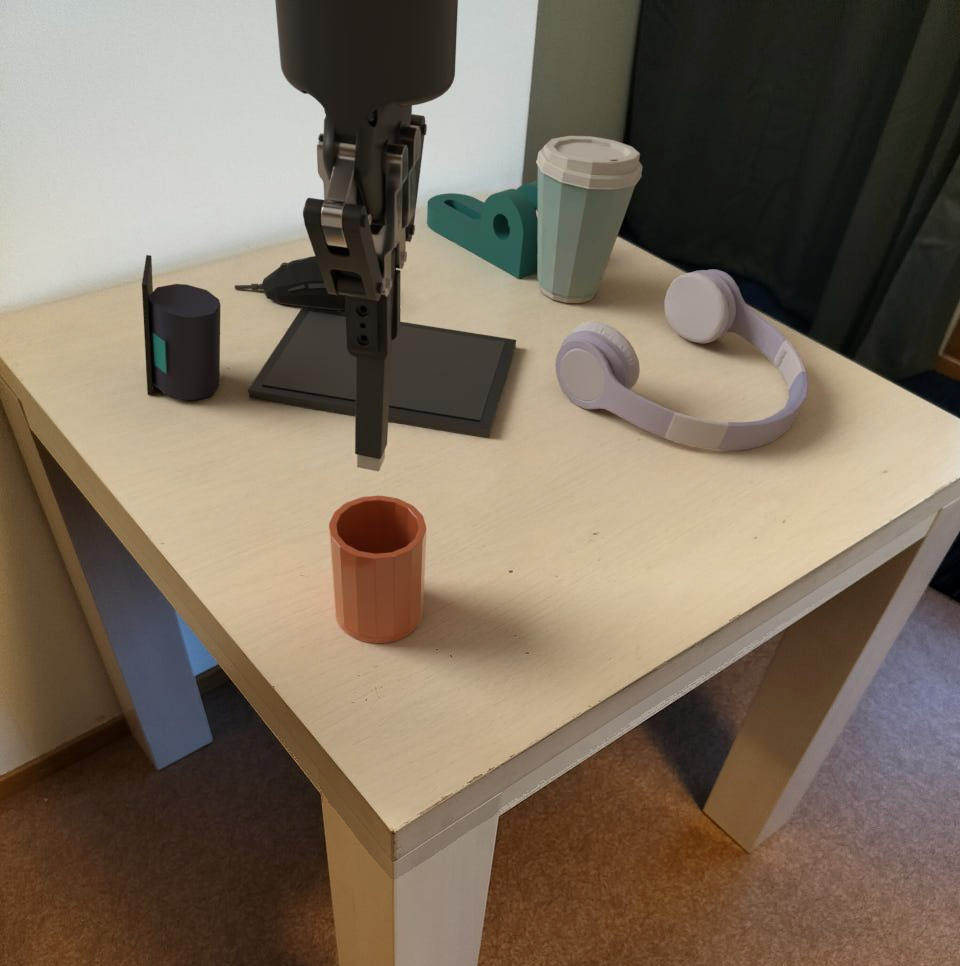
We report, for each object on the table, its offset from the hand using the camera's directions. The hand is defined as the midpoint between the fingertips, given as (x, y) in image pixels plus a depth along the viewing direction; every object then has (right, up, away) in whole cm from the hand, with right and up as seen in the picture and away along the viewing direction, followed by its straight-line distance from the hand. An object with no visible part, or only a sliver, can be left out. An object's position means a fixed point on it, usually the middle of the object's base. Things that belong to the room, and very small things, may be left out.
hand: (374, 344), depth 49 cm
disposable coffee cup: (+16, +23, +51) cm, 58 cm away
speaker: (-21, +7, +33) cm, 40 cm away
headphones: (+26, +8, +38) cm, 47 cm away
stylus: (-1, -5, +6) cm, 8 cm away
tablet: (-3, +9, +37) cm, 38 cm away
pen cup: (-1, -14, +15) cm, 21 cm away
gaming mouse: (-13, +20, +46) cm, 52 cm away
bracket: (+7, +31, +57) cm, 66 cm away
